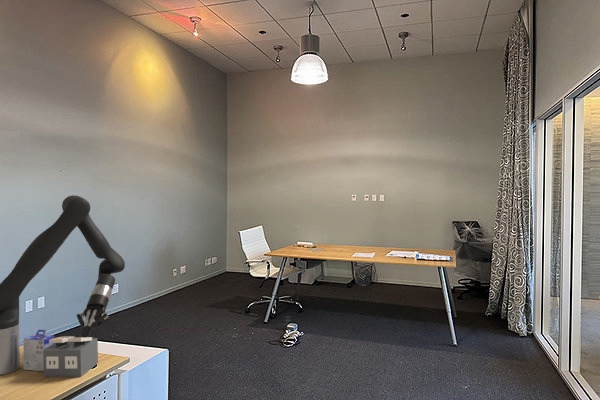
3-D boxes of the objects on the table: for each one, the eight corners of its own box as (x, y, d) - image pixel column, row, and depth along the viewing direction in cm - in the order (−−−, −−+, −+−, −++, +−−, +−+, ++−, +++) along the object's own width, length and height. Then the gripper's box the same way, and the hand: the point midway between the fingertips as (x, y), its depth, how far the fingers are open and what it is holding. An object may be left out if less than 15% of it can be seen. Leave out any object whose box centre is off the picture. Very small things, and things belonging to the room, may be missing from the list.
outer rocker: (67, 341, 149) (68, 337, 149) (79, 340, 157) (79, 337, 157) (80, 341, 149) (81, 337, 149) (91, 340, 157) (92, 336, 157)
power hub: (43, 377, 147) (42, 348, 147) (63, 363, 159) (62, 336, 159) (80, 377, 147) (79, 348, 147) (98, 363, 159) (97, 336, 159)
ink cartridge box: (56, 365, 157) (55, 329, 157) (44, 372, 152) (43, 334, 152) (34, 363, 159) (34, 328, 159) (22, 370, 154) (21, 332, 154)
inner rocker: (49, 342, 149) (49, 339, 149) (62, 339, 157) (62, 336, 157) (62, 342, 149) (62, 339, 149) (74, 339, 157) (74, 336, 157)
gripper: (80, 293, 166) (63, 332, 153) (112, 292, 165) (97, 332, 153) (87, 302, 171) (72, 341, 159) (118, 302, 171) (105, 340, 159)
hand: (84, 336), depth 156 cm, fingers closed
